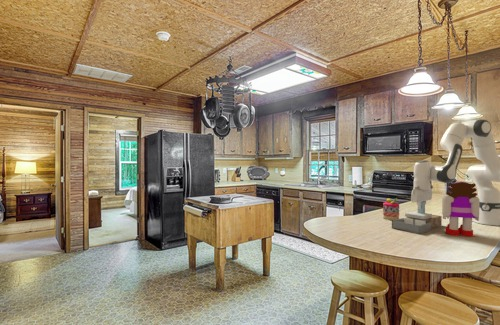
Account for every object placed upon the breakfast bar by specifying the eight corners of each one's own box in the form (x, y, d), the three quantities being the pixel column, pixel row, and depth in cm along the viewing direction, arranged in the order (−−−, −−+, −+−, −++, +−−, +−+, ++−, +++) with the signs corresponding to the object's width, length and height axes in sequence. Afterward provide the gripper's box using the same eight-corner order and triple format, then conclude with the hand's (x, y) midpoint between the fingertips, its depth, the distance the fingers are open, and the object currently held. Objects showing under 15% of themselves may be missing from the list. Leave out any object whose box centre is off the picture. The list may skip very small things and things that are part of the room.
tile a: (416, 219, 169) (414, 219, 168) (425, 220, 165) (423, 221, 164) (416, 227, 169) (414, 227, 168) (425, 228, 165) (423, 229, 164)
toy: (474, 233, 157) (474, 181, 157) (482, 237, 149) (483, 182, 148) (438, 231, 162) (438, 180, 162) (444, 235, 153) (444, 181, 153)
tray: (403, 225, 177) (403, 217, 177) (430, 230, 164) (431, 222, 164) (391, 228, 169) (391, 220, 169) (419, 233, 156) (419, 225, 156)
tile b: (406, 217, 174) (404, 217, 173) (414, 218, 170) (412, 219, 169) (406, 225, 174) (404, 225, 173) (414, 226, 170) (412, 227, 169)
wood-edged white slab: (421, 221, 187) (421, 213, 187) (441, 225, 177) (441, 216, 177) (406, 225, 175) (406, 216, 175) (427, 229, 165) (427, 219, 165)
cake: (382, 219, 195) (382, 198, 195) (383, 216, 204) (383, 196, 204) (399, 220, 189) (399, 199, 189) (399, 218, 199) (399, 197, 199)
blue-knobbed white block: (413, 214, 179) (413, 200, 179) (432, 217, 170) (432, 202, 170) (405, 216, 173) (405, 202, 173) (424, 219, 164) (424, 204, 164)
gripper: (419, 187, 165) (418, 210, 165) (434, 185, 177) (434, 207, 177) (408, 186, 170) (407, 209, 170) (423, 185, 182) (423, 206, 182)
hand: (421, 208), depth 174 cm, fingers closed on blue-knobbed white block, 3 cm apart
